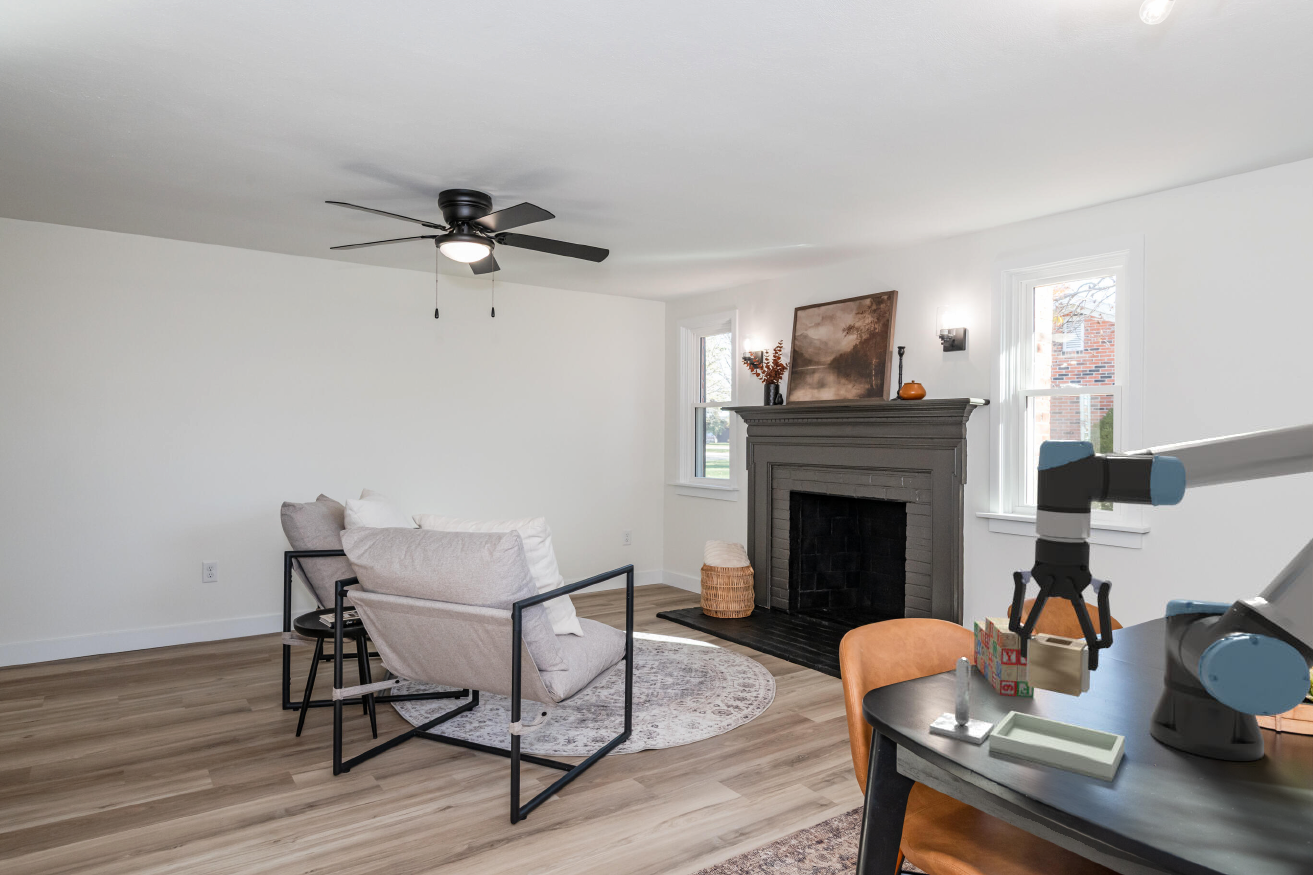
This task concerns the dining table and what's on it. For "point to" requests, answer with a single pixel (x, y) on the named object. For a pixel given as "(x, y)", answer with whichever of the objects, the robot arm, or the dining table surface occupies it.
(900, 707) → the dining table surface
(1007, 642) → the stack of blocks
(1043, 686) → the oak block
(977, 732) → the post
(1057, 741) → the tray
